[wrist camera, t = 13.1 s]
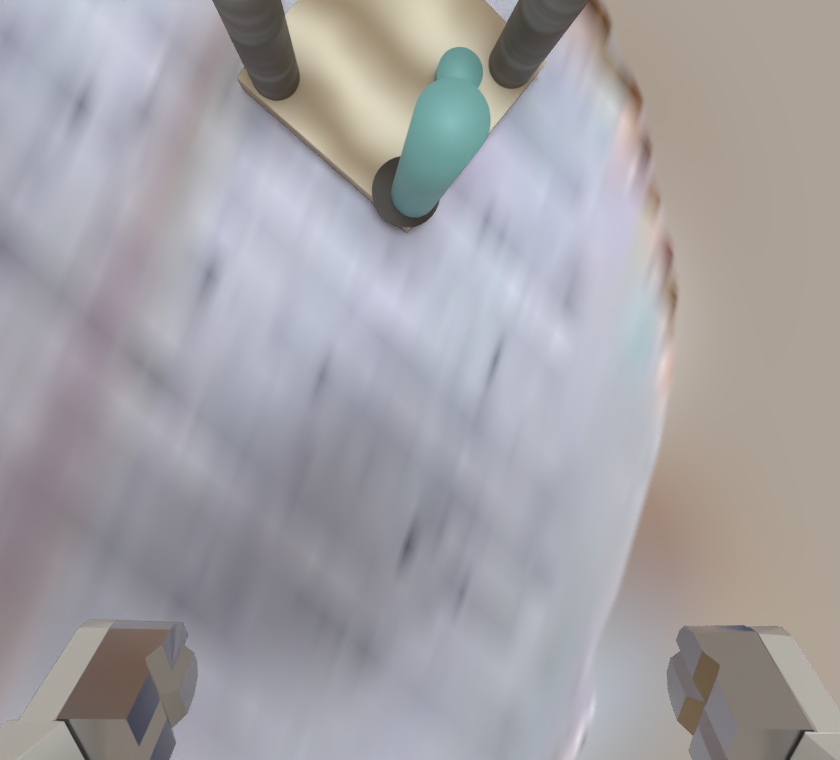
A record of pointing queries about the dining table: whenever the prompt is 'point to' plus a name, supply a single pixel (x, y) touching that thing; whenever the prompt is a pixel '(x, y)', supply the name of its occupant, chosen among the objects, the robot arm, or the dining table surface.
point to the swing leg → (442, 133)
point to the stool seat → (380, 70)
